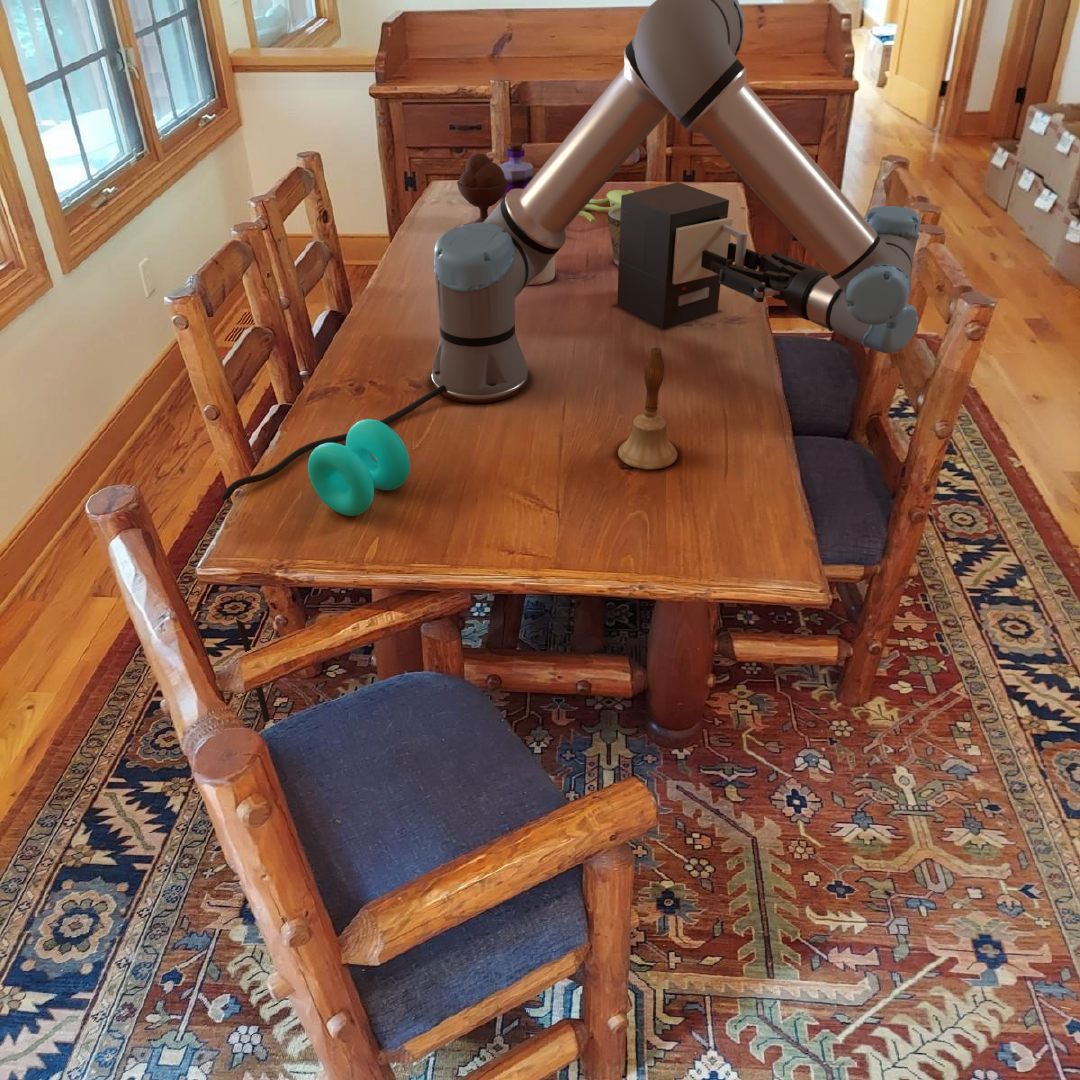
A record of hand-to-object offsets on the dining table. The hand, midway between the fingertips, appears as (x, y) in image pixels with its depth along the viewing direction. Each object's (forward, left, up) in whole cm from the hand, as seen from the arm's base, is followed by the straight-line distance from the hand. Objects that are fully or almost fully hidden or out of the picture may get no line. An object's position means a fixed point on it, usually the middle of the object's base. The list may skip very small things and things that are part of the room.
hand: (716, 254), depth 161 cm
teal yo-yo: (-72, +25, -13) cm, 77 cm away
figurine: (+46, +36, -13) cm, 60 cm away
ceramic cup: (+24, +24, -13) cm, 36 cm away
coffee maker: (+4, +9, -13) cm, 16 cm away
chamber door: (-2, 0, -4) cm, 5 cm away
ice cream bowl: (+31, +62, -13) cm, 71 cm away
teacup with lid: (+7, +40, -13) cm, 43 cm away
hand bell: (-46, -5, -13) cm, 48 cm away
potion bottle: (+53, +65, -13) cm, 85 cm away
